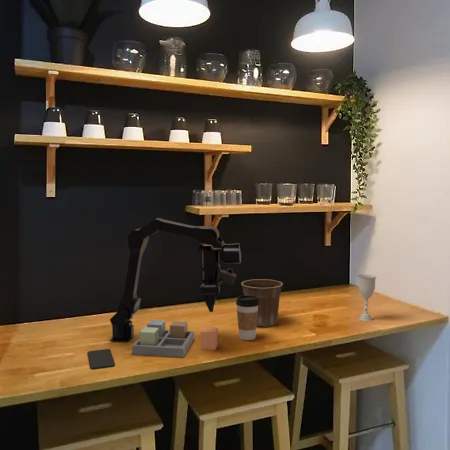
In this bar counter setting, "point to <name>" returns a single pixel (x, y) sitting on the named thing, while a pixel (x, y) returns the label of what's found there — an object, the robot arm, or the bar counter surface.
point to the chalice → (366, 292)
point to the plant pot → (265, 299)
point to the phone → (100, 359)
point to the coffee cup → (247, 316)
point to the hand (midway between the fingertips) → (212, 308)
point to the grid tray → (163, 340)
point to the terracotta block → (209, 338)
